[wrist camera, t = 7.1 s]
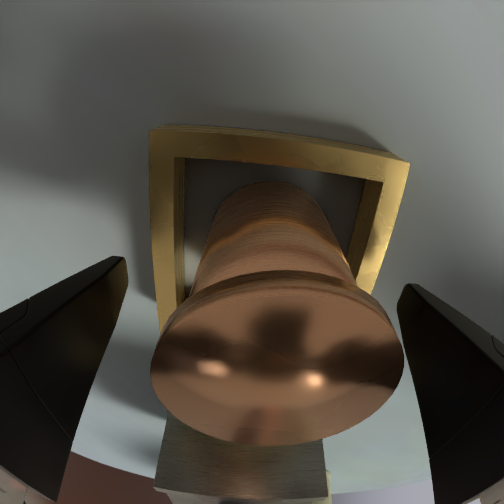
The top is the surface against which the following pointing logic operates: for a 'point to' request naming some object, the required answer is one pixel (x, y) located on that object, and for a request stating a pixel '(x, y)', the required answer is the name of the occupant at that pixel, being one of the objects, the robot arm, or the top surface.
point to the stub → (275, 329)
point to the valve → (237, 470)
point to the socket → (272, 153)
